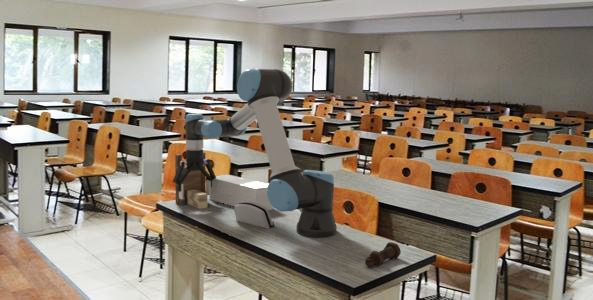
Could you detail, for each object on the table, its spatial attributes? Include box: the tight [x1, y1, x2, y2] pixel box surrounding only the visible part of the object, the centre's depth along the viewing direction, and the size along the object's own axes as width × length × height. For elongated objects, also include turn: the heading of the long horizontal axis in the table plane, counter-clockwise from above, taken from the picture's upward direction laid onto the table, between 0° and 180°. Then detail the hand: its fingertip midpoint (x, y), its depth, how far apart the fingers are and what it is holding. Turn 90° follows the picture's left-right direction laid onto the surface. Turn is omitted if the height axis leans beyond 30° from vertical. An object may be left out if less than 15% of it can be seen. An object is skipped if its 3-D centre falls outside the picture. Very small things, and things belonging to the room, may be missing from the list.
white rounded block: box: [233, 201, 276, 229], centre depth 213 cm, size 17×5×10 cm, turn 53°
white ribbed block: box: [208, 174, 275, 211], centre depth 244 cm, size 32×11×11 cm, turn 46°
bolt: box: [364, 241, 402, 268], centre depth 173 cm, size 6×5×15 cm
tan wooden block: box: [185, 189, 208, 209], centre depth 240 cm, size 12×4×6 cm, turn 40°
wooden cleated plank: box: [174, 151, 206, 206], centre depth 244 cm, size 4×14×22 cm, turn 130°
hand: (194, 196), depth 241 cm, fingers open, 13 cm apart
